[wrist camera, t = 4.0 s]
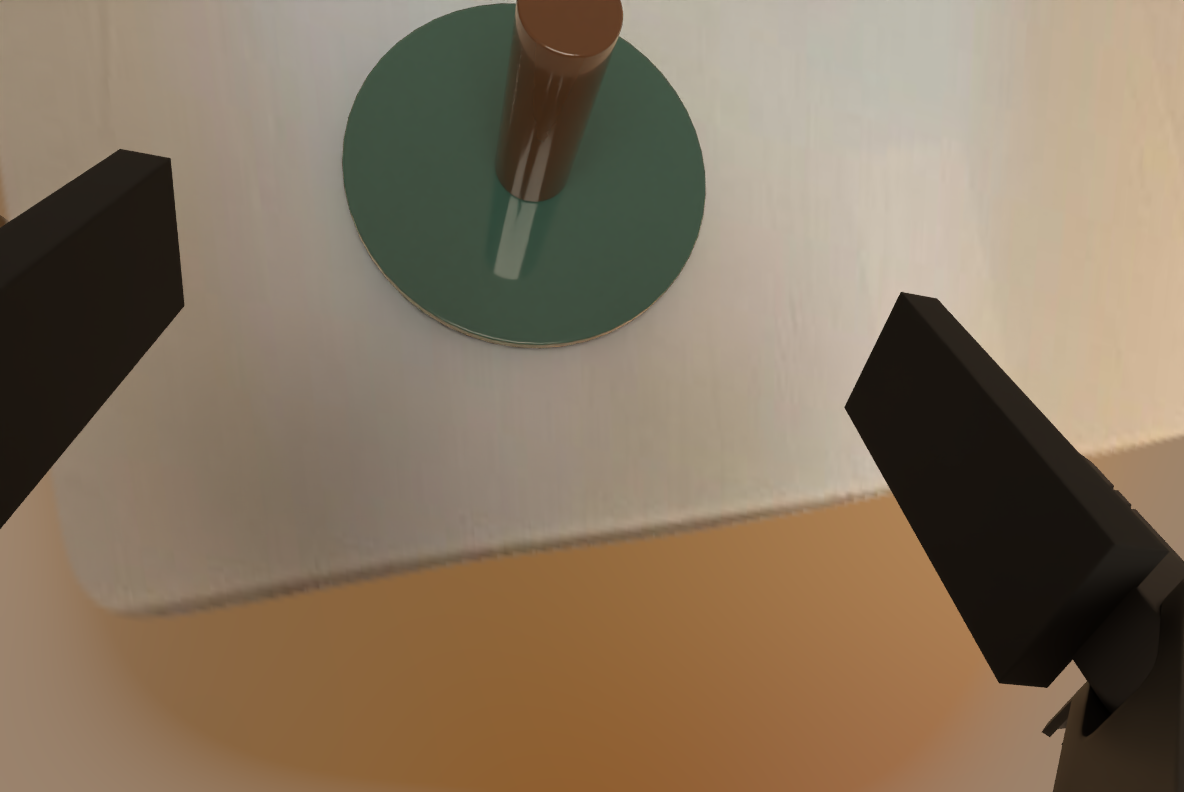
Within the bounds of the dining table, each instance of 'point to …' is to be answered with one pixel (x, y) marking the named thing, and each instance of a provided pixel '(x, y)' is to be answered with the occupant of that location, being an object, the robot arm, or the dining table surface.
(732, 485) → the dining table surface
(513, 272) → the jar lid
